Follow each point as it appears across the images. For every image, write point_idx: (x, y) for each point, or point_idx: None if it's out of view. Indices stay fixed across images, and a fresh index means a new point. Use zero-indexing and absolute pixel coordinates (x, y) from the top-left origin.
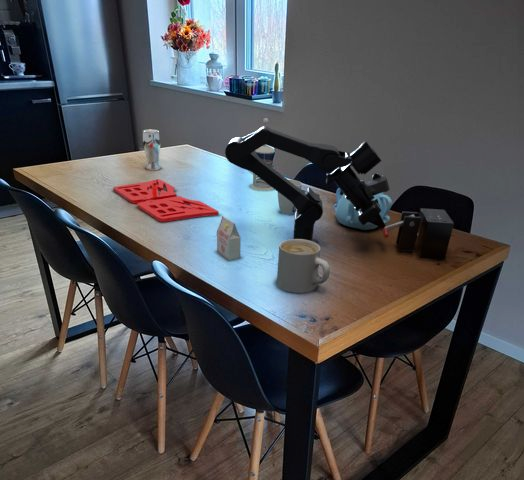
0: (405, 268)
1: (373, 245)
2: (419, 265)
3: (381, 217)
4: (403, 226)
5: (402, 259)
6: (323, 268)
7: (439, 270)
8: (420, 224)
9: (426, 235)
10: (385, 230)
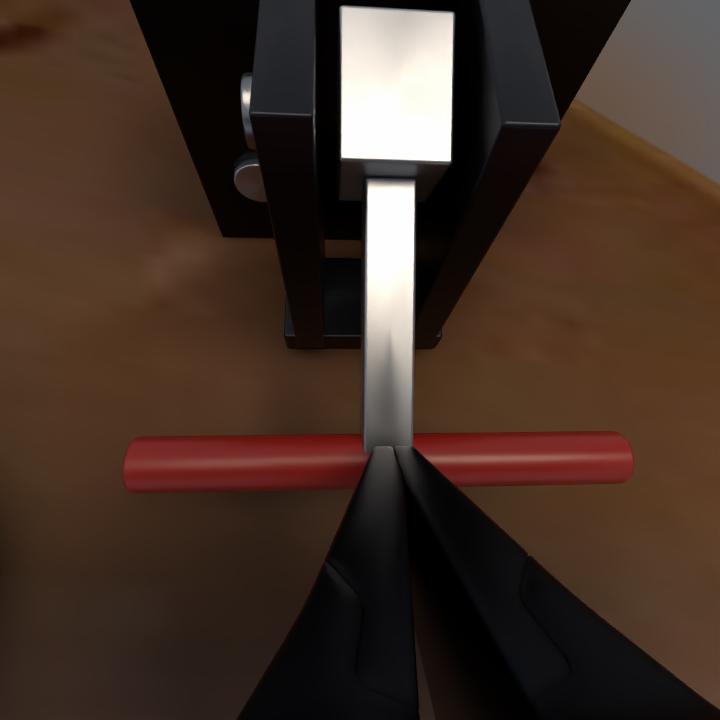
0: (670, 346)
1: (298, 537)
2: (585, 259)
3: (399, 527)
4: (498, 229)
5: (527, 342)
6: None
7: (612, 175)
8: (322, 66)
9: (574, 86)
10: (510, 457)
